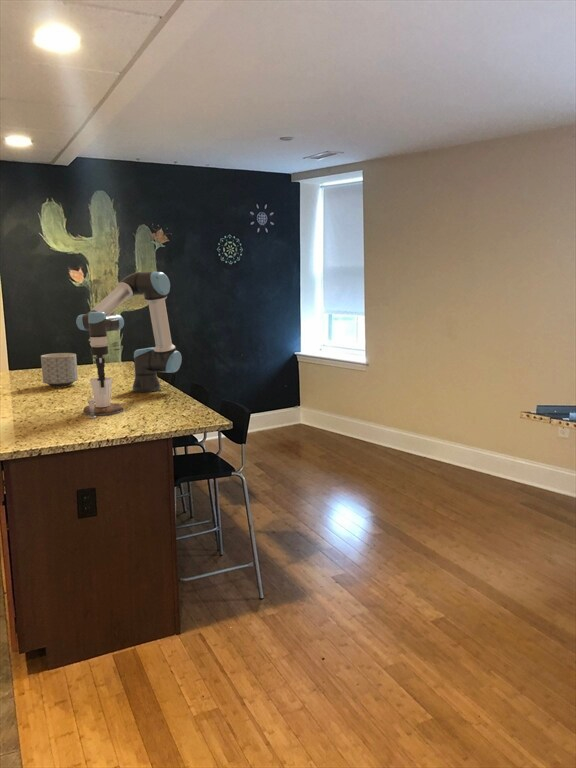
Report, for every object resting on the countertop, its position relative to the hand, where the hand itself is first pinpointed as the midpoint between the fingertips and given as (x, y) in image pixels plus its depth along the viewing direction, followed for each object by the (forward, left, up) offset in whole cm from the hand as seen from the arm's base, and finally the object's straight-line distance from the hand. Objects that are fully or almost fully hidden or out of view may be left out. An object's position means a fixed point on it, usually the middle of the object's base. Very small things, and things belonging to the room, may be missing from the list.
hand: (102, 391), depth 280 cm
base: (0, 0, -9) cm, 9 cm away
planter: (+20, -82, -10) cm, 85 cm away
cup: (0, 0, -7) cm, 7 cm away
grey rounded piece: (+5, +11, -9) cm, 15 cm away
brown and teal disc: (0, -2, -8) cm, 9 cm away
